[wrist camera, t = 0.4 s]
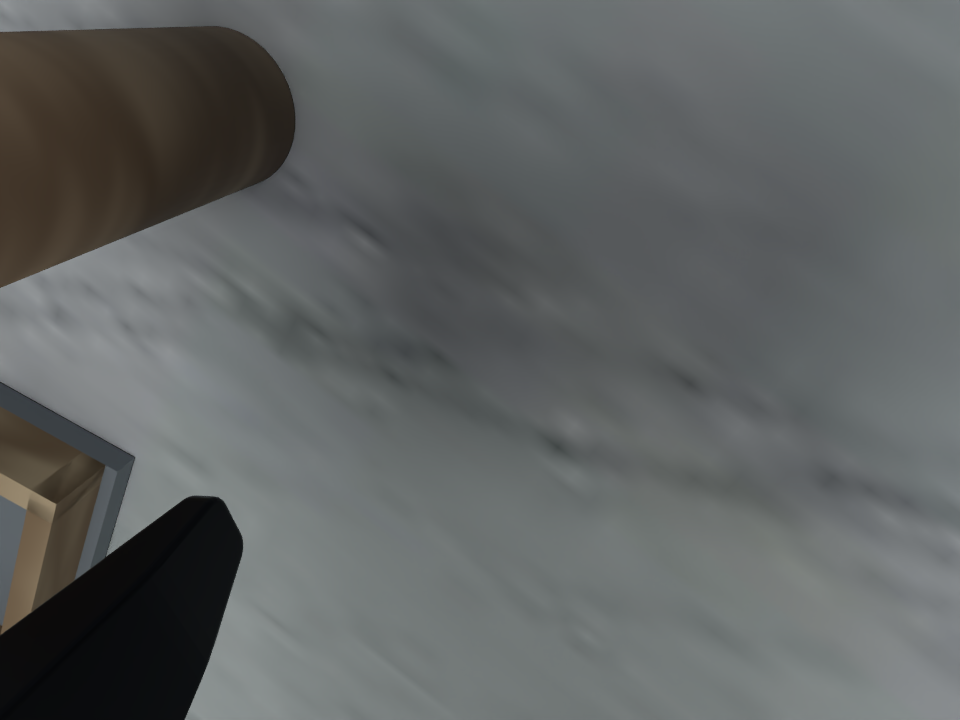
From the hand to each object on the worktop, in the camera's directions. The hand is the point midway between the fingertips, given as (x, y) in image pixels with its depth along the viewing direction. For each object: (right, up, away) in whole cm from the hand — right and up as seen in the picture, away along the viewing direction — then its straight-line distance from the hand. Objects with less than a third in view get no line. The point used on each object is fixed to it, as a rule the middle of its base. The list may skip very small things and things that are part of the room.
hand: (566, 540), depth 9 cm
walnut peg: (-9, +9, +13) cm, 18 cm away
